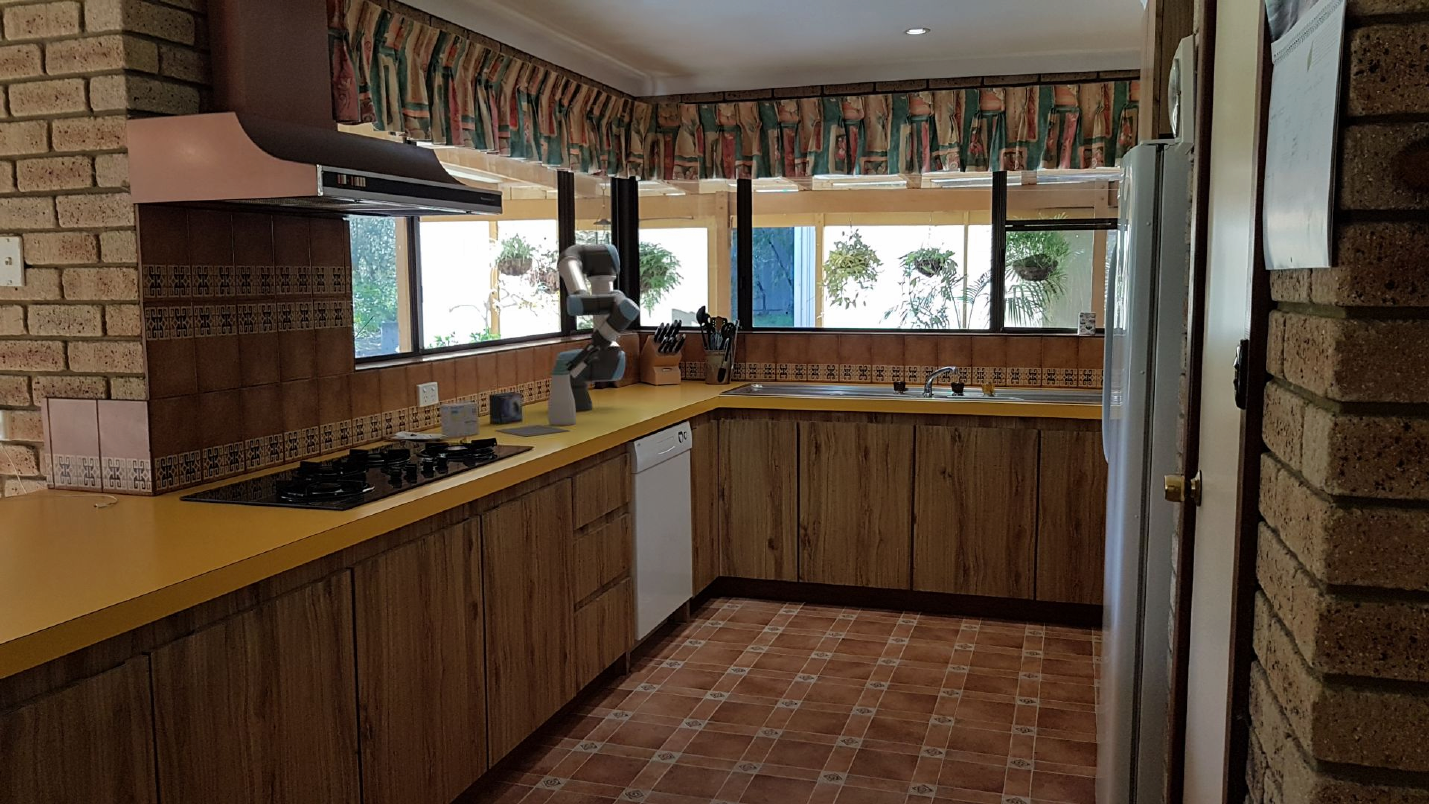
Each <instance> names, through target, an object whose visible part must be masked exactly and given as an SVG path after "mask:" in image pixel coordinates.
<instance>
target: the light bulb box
mask: <svg viewBox="0 0 1429 804" xmlns="http://www.w3.org/2000/svg"><path fill="white" fill-rule="evenodd" d="M439 408H440V421H441V422H440V423H441V424H440V425H441V436H442V435H445V436H447V437H446V438H450V439H453V438H460V437H468V436H474V435H475V436H476V435H479V434H480V431H479V412H478V409H479V408H478V402H475V401H474V402H473V401H464V402H463V401H462V402H453V403H444V404H440V405H439Z"/></svg>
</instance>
